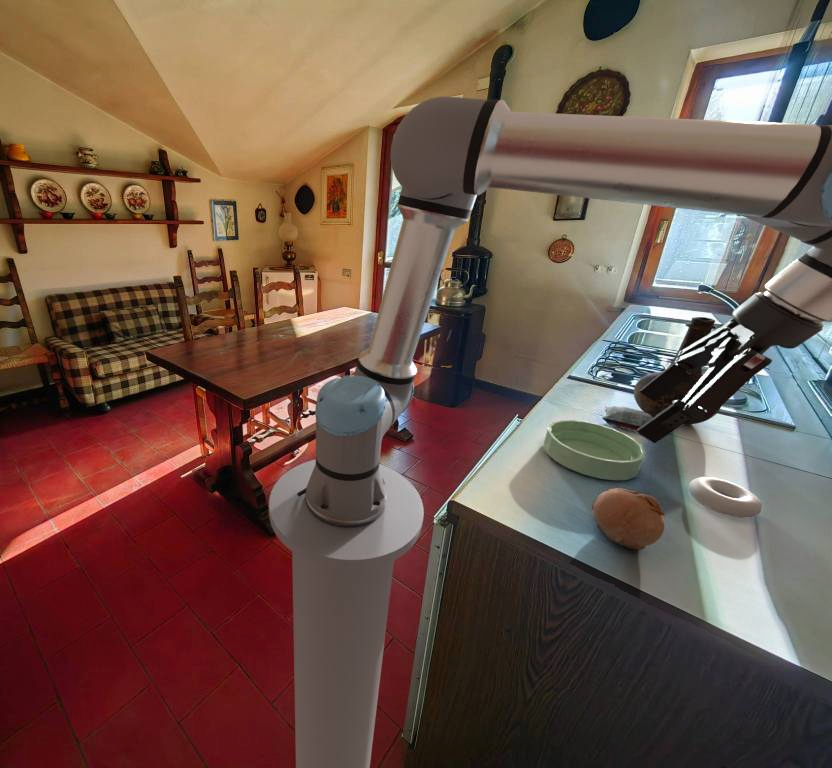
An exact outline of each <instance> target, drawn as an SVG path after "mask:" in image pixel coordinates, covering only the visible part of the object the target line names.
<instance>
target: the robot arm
mask: <svg viewBox="0 0 832 768" xmlns="http://www.w3.org/2000/svg"><path fill="white" fill-rule="evenodd" d="M390 164H391V169H392V172H393V175H394V178H395V179H396V180H397V182H398V184H399V185H400V186H401V189H400V193H399V198H398V200H397V204H396V206H397V209H398V210H399V212H400V214H401V216H402V222H401V226H400V229H399V234H398V236H397V237H398V238H397V241H396V245H395V249H394V252H393V257H392V260H391V264H390V267H389V270H388V271H389V272H388V275H387V278H386V283H385V286H384V290H383V294H382V298H381V302H380V304H379V309H378V313H377V316H376V320H375V324H374V327H373V331H372V335H371V338H370V342H369V346H368V348H367V349H365V350H364V351H361V352H360V353H359V354H358V357H357V362H356V365H355V369H354V372H353V375H351V374H350V375H344V376H342V378H341V377H335V378H333V379H331V380H328V381H327V382H326V383H324V384H323V385H322V386H321V388H319V390H318V393H317V396H316V404H315V408H314V415H315V459H316V464H315V467H314V469H313V472H312V474H311V477H310V479H309V482H308V484H307V488H305V489H304V490H302V491H300V492H299V493H297V495H298V496H301V495H303V494H305V493H306V505H307V507H308V509H309V511H310V512H311V513H312V514H313V515H314V516H315V517H316V518H317V519H319V520H321V521H322V522H324V523H327V524H329V525H333V526H337V527H343V528H354V527H361V526H365V525H368V524H370V523H372V522H374V521H375V520H377V519H378V518H379V517H380V516H381V515H382V514H383V512H384V510H385V506H386V490H385V487H386V486H385V487H384V485H385V483H384V480H383V478H382V476H381V473H380V469H379V464H380V460H381V450H382V440H383V437H384V436H385V435H386V433H387V432H388V431H389V430H390V428H391V427H392V426H393V424H395V422H396V421H397V419H398V418H399V417H400V416H401V415H402V414H403V413H404V412H405V411H406V409H407V408H408V407H409V406H410V404H411V402H412V399H413V397H414V391H415V383H414V382H415V379H416V375H417V373H418V369H417V366H416V365H415V363H414V361H413V359H414V355H415V353H416V350H417V347H418V344H419V341H420V338H421V335H422V331H423V330H424V326H425V322H426V319H427V317H428V313H429V311H430V307H431V304H432V301H433V298H434V295H435V292H436V289H437V286H438V282H439V279H440V277H441V274H442V271H443V268H444V265H445V261H446V258H447V255H448V254H449V253H448V252H449V249H450V248H451V243H452V241H453V237H454V235H455V231H456V230H457V229H458V228H460V227H462V226H463V225H465V224H466V223H468V222H469V219H470V217H471V214H472V211H473V208H474V205H475V203H476V200H477V196H480V195H482V194H483V193H485V192H486V191H487V190H489V189H491V188H493V189H501V190H502V189H503V190H511V191H519V192H529V193H537V194H538V193H539V194H547V195H555V196H565V197H574V198H584V199H591V200H600V201H601V200H602V201H609V202H619V203H627V204H628V203H629V204H637V205H646V206H656V207H663V208H664V207H665V208H672V209H673V208H674V209H682V210H691V211H701V212H710V213H720V214H728V215H735V216H737V217H741V216H742V217H744V218H747V219H749V220H751V221H752V222H753V221H754V222H756V223H758V224H761V225H762V226H765V227H767V228H770V229H773V230H775V231H777V232H779V233H782V234H783V235H787V236H788V237H791V238H794V239H796V240H799V241H800V242H801V243H804V244H806V245H809V246H811V248H810V249H809V250H808V251H806V252H805V253H803V254H802V255H800V256H799V257H798V258H797V259H795V260H794V261H792V263H790V264H789V265H788V266H786V267H785V268H784V269H783V270H781V271H780V272H779V273H778V274H776V275H775V276H774V277H772V278H771V279H770V280H769V281H768V282H766V284H764V289H765V291H759V292H755V293H754V294H753V295H752V296H750V297H749V298H747V299H746V300H745V301H744V302H743V303H741V304H740V305H738V306H737V307H736V308H735V309H733V311H732V313H731V314H732V318H731V319H729V320H728V321H727V322H726V323H724V324H723V325H722V326H720V327H719V328H716V329H714V330H713V331H711V333H710V334H708V335H707V336H705V337H703V338H702V339H700V340H698V341H697V342H695V343H693V344H692V345H690V346H688V347H687V348H685V349H683V350H682V351H680V352H679V354H678V356H680V357H678V358H677V359H676V360H675V363H676V364H674V363H673V364H672V365H671V366H669V365H668V367H667V368H666V369H663V372H662V371H661V372H662V373H661V374H659V375H658V376H657V377H655V378H654V379H653V380H652V381H650V382H649V383H648V384H647V385H645V386H644V387H643V388H642V389H640V393H642V394H644V395H645V396H647V397H649V398H650V399H652V400H654V401H656V400H658V399H659V398H660V397H662V396H663V395H664V394H666V393H667V392H668V391H670V390H671V389H672V388H674V387H675V386H676V385H678V384H679V383H680V382H682V381H683V380H685V379H686V378H687V377H689V376H690V375H691V374H690V373H689V372H688V371H686V370H689V371H691V372H692V373H694V374H696V373H695V372H697V371H698V370H699V369H700V367H702V368H703V367H706V366H708V369H707V370H706V371H705V372H704V373H703V374H702V377H701V378H700V379H699V381H698V382H697V383H696V384H695V385H694V387H693V388H692V389H691V390H690V391H689V392H688V394H687V395H686V396H685V397H684V398H683V399H682V401H680V400H673V402H672V403H673V404H672V405H670V406H669V407H667V408H666V409H665V410H663V411H662V412H660V413H659V414H658V415H656V416H655V417H653V418H652V419H651V420H649V421H648V422H646V423H645V424H644V425H642V426H641V427H640V428H638V429H637V431H636V432H635V433H637V434H639V435H640V436H642V437H643V438H645V439H647V440H648V441H649V442H651V443H653V445H654V444H657V443H658V442H659V441H661V440H662V439H664V438H666V437H667V436H668V435H670V434H672V433H673V432H675V431H677V430H678V429H679V428H681V427H682V426H684V425H683V424H685V423H686V422H688V421H689V420H691V419H692V418H694V417H696V418H697V419H699V420H701V421H704V422H706V421H708V420H707V419H708V418H709V417H710V416H711V415H713V414H714V413H715V412H716V411H717V410H718V409H719V408H720V407H721V408H722V407H723V405H724V404H726V403H727V402H728V401H729V400H730V399H731V398H732V397H733V396H734V395H735V394H736V393H737V392H739V390H741V388H742V387H744V386H745V385H746V384H747V383H748V382H749V381H750V380H751V379H752V378H753V377H754V376H755V375H757V374H758V373H759V372H761V371H762V370H764V369H765V368H767V367H768V366H770V365H771V363H772V362H773V359H772V358H770V357H768V356H766V355H764V354H765V353H766V352H767V351H768V350H769V349H770V348H772V347H774V346H775V347H778V346H779V347H780V348H783V349H788V350H791V349H795V348H798V347H799V346H801V345H802V344H804V343H806V342H807V341H808V340H809V339H811V338H813V337H814V336H816V335H817V334H819V333H820V332H822V331H823V330H824V324H823V322H826V323H832V124H831V125H823V124H822V125H821V124H814V123H813V124H811V123H810V124H809V123H793V122H792V123H789V122H766V121H765V122H764V121H744V120H743V121H741V120H721V119H720V120H718V119H695V118H694V119H693V118H671V117H648V116H647V117H646V116H626V115H625V116H624V115H622V116H621V115H599V114H598V115H597V114H575V113H574V114H573V113H552V112H551V113H550V112H528V111H527V112H526V111H512V110H511V109H510V107H509V106H508V105H507V103H506V101H505V100H504V99H483V98H470V97H461V96H460V97H459V96H436V97H432V98H428V99H426V100H423V101H422V102H420V103H418V104H416V105H415V106H414V107H413V108H411V109H410V110H409V111H408V113H406V114H405V115H404V117H403V118H402V120H401V121H400V122H399V124H398V126H397V128H396V130H395V132H394V135H393V138H392V141H391V147H390ZM697 406H699V407H697ZM721 408H720V409H721Z"/></svg>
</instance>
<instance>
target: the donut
mask: <svg viewBox="0 0 832 768" xmlns="http://www.w3.org/2000/svg"><path fill="white" fill-rule="evenodd" d="M688 491H689V494H690V495H691V496H692V497H693V498H694V500H695V501H697V502H698V503H700V504H701V505H702V506H704V507H706V508H708V509H710V510H712V511H715V512H717V513H720V514H722V515H726V516H729V517H734V518H741V519H743V518H753V517H755V516H757V515H759V514H760V513H761V511H762V502H761V501H760V499H759V498H758V497H757V496H756V494H754V493H753V492H752V491H750V490H748V489H746V488H745V487H743V486H740V485H739V484H736V483H735V482H732V481H729V480H726V479H722V478H718V477H710V476H701V477H696V478H694V479H692V480H691V481H690V483H689V485H688Z"/></svg>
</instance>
